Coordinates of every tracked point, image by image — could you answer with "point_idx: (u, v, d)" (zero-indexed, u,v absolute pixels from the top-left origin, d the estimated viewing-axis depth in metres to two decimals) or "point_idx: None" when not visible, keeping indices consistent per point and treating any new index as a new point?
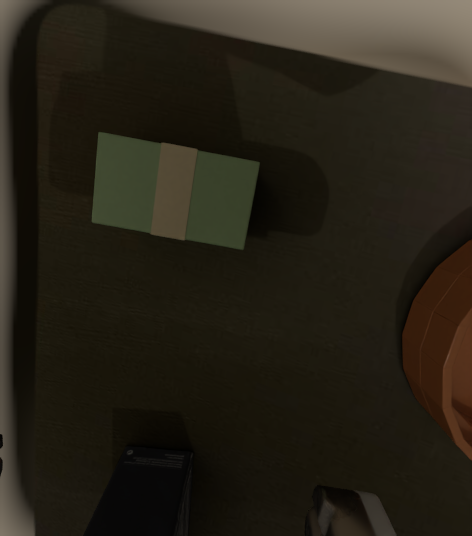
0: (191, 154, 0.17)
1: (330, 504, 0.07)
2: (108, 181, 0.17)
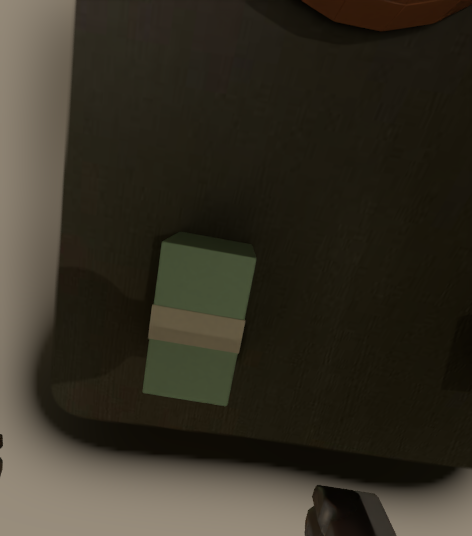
0: (158, 310, 0.16)
1: (330, 504, 0.07)
2: (186, 387, 0.17)
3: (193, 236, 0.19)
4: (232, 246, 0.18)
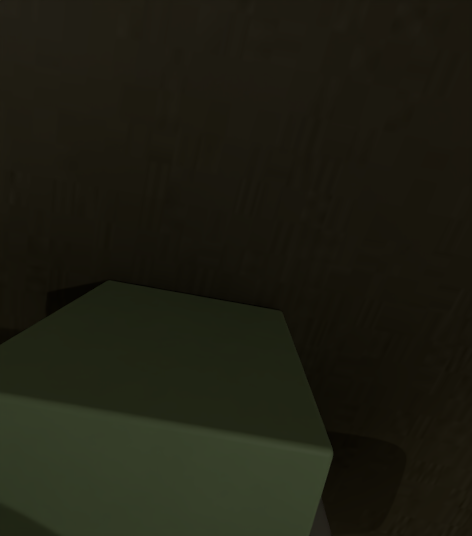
0: None
1: None
2: None
3: (131, 301, 0.07)
4: (234, 343, 0.06)
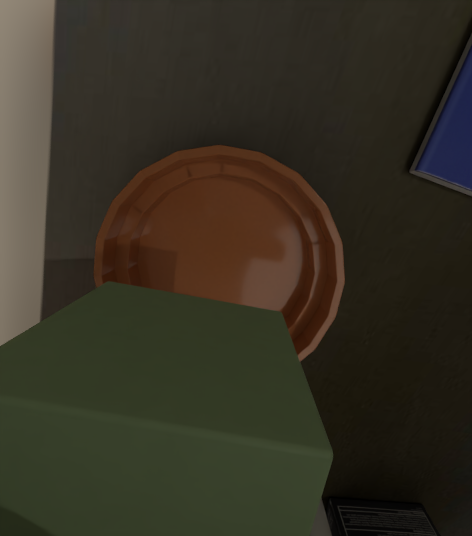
0: None
1: None
2: None
3: (131, 302, 0.07)
4: (234, 345, 0.06)
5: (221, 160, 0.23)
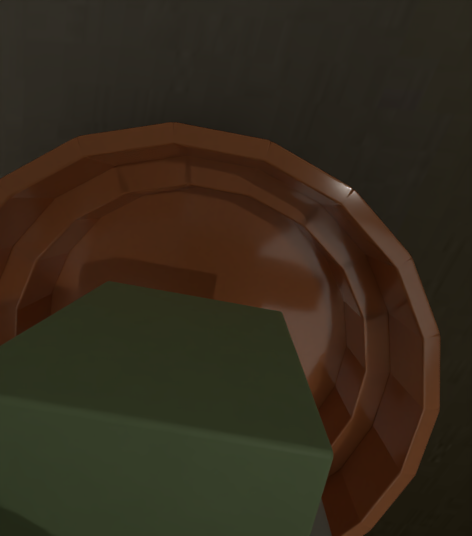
0: None
1: None
2: None
3: (130, 302, 0.07)
4: (234, 344, 0.06)
5: (186, 158, 0.11)
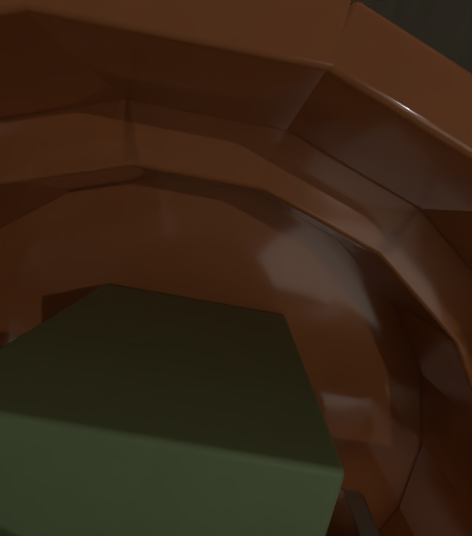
0: None
1: None
2: None
3: (129, 306, 0.07)
4: (237, 351, 0.06)
5: (125, 106, 0.05)
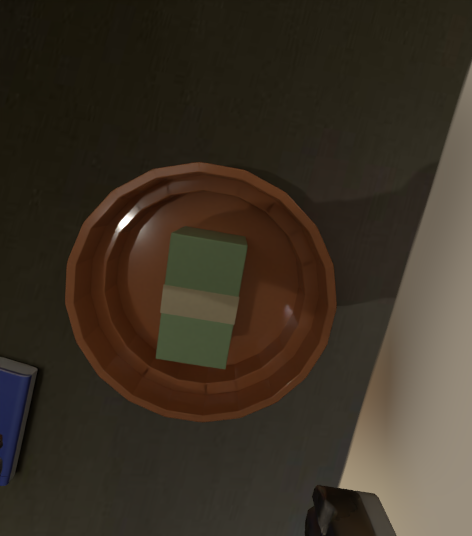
0: (230, 319, 0.21)
1: (330, 504, 0.07)
2: (207, 251, 0.20)
3: None
4: None
5: (205, 393, 0.25)
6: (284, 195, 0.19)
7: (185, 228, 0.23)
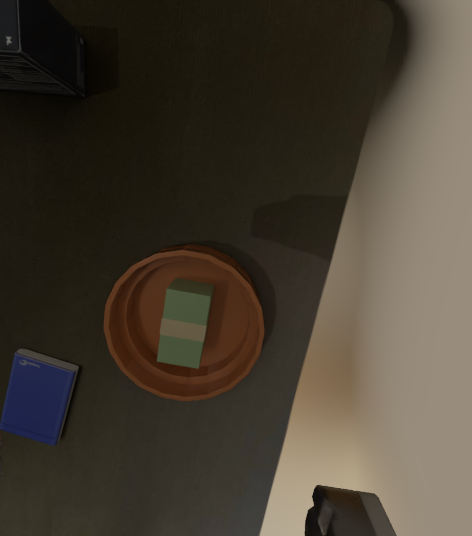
0: (201, 338, 0.35)
1: (330, 504, 0.07)
2: (187, 299, 0.34)
3: None
4: None
5: (188, 384, 0.39)
6: (231, 268, 0.33)
7: (176, 281, 0.37)
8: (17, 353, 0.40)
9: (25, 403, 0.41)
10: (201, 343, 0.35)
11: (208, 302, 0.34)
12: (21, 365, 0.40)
